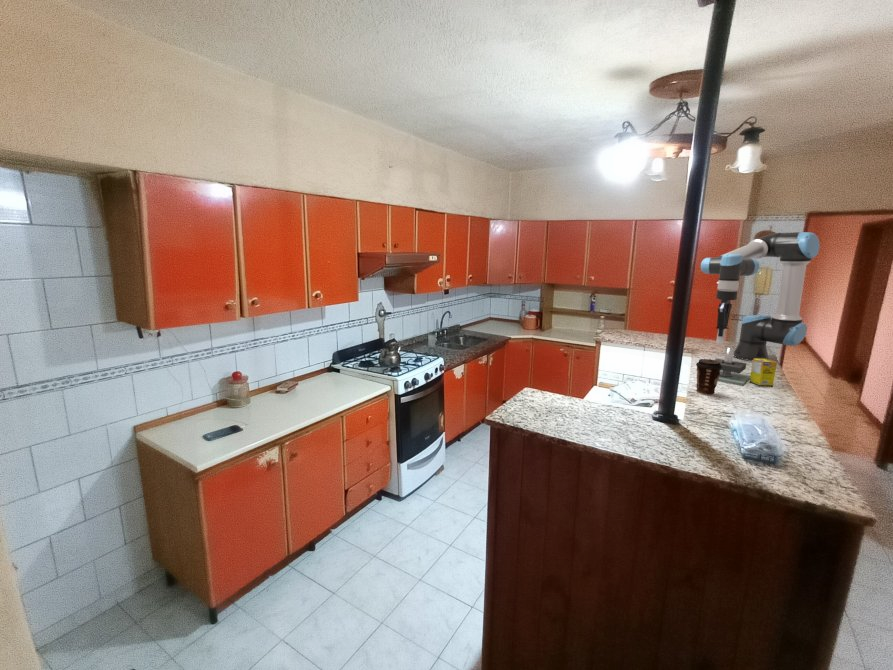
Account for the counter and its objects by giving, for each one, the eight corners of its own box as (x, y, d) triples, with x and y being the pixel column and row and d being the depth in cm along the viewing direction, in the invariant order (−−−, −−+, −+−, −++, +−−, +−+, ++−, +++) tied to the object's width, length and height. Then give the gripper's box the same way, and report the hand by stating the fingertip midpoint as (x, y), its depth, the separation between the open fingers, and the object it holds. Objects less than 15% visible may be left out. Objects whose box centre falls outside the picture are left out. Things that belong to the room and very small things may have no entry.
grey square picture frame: (716, 363, 194) (716, 358, 194) (745, 368, 186) (746, 363, 186) (709, 368, 186) (709, 362, 186) (739, 373, 178) (740, 368, 178)
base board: (710, 370, 198) (710, 368, 198) (751, 378, 187) (751, 375, 187) (700, 377, 187) (700, 375, 187) (743, 386, 176) (743, 383, 176)
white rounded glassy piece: (721, 373, 190) (725, 345, 187) (733, 375, 187) (737, 347, 184) (719, 375, 187) (723, 347, 184) (730, 377, 184) (735, 349, 181)
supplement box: (773, 387, 175) (777, 362, 173) (758, 387, 175) (763, 361, 173) (762, 382, 181) (767, 358, 179) (748, 382, 181) (752, 358, 179)
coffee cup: (711, 389, 171) (716, 358, 169) (722, 396, 163) (727, 364, 161) (689, 388, 172) (693, 357, 169) (699, 395, 164) (703, 363, 161)
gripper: (721, 288, 189) (714, 339, 194) (713, 290, 181) (706, 344, 185) (741, 289, 184) (733, 342, 189) (733, 292, 175) (726, 347, 180)
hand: (720, 343), depth 187 cm, fingers closed
